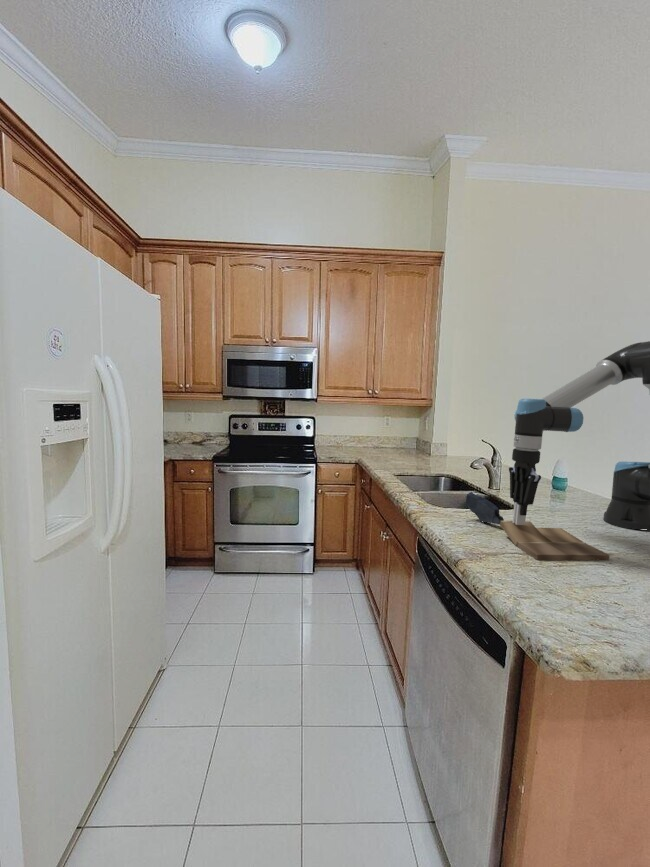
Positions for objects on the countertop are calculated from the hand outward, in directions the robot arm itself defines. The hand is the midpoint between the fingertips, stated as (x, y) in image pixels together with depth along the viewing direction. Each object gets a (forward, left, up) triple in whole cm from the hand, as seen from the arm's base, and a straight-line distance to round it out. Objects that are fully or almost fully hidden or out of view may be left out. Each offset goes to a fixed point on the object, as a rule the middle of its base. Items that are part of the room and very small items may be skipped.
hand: (518, 523), depth 119 cm
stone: (+4, -14, -5) cm, 15 cm away
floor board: (-6, +12, -5) cm, 14 cm away
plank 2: (-11, +2, -4) cm, 12 cm away
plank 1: (0, +2, -3) cm, 4 cm away
